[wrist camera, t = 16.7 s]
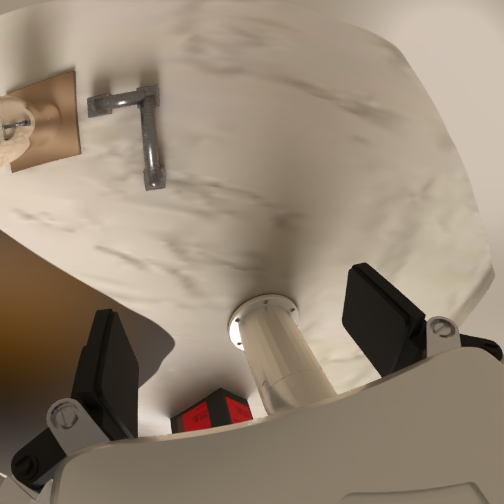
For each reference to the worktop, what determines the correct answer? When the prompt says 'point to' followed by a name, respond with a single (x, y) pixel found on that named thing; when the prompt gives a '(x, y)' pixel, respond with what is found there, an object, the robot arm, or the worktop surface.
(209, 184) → the worktop surface
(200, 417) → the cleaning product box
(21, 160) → the walnut board
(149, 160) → the grey metal bent rod
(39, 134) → the beer glass
